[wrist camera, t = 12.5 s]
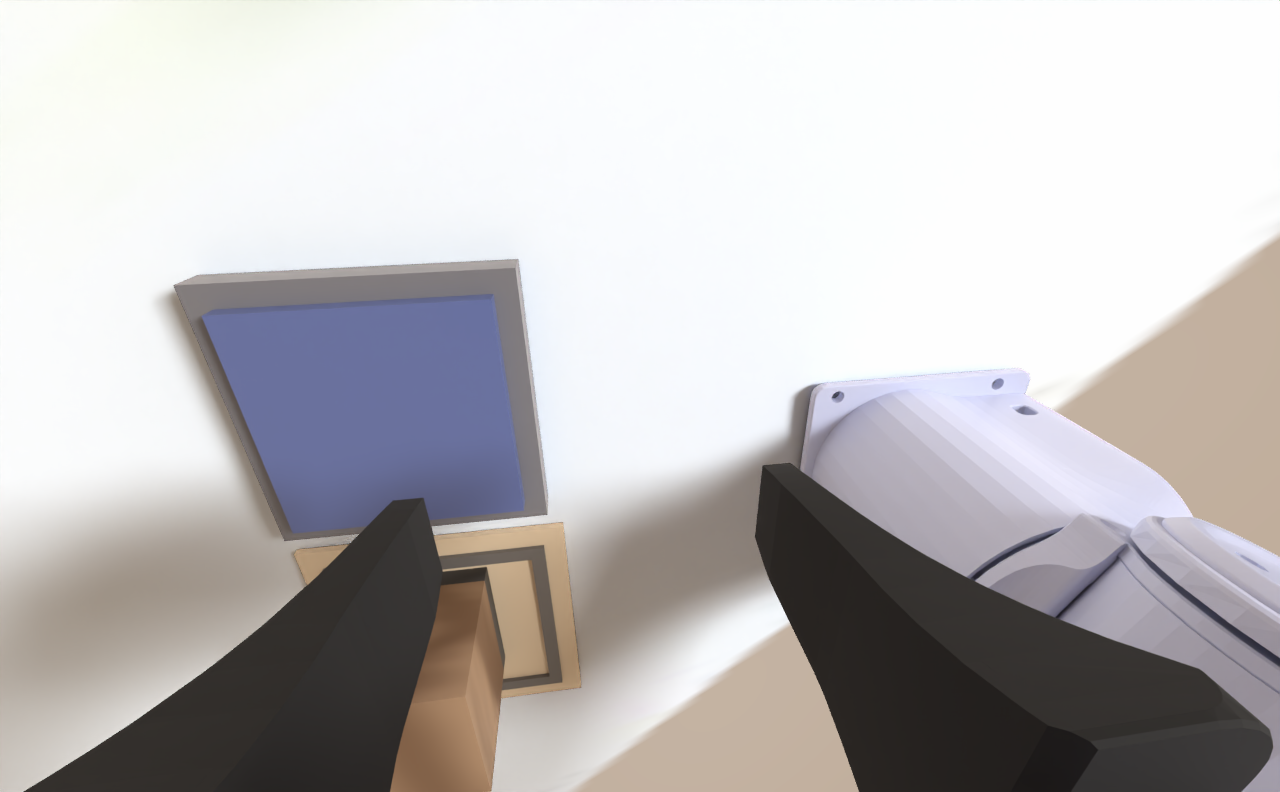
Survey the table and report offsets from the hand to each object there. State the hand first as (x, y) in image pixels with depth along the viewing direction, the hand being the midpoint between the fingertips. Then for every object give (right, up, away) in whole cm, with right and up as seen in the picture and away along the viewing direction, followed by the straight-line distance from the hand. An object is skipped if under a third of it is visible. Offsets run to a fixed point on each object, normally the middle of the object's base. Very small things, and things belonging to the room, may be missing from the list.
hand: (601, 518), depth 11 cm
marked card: (-8, -8, +14) cm, 18 cm away
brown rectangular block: (-8, -8, +13) cm, 17 cm away
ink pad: (-8, +2, +8) cm, 12 cm away
